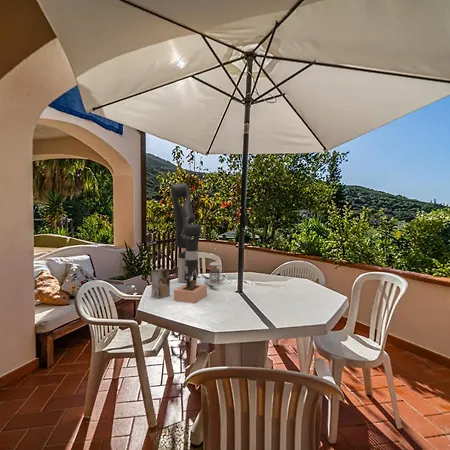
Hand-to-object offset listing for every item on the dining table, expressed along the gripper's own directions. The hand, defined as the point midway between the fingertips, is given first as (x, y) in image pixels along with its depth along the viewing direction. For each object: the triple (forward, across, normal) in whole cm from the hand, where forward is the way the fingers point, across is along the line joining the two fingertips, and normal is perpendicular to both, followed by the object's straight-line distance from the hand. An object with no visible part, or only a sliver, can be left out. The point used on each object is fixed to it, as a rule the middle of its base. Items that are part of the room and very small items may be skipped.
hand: (191, 285), depth 187 cm
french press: (+8, -39, +1) cm, 39 cm away
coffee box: (+8, +4, -18) cm, 20 cm away
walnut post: (+7, 0, 0) cm, 7 cm away
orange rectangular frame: (+7, 0, 0) cm, 7 cm away
